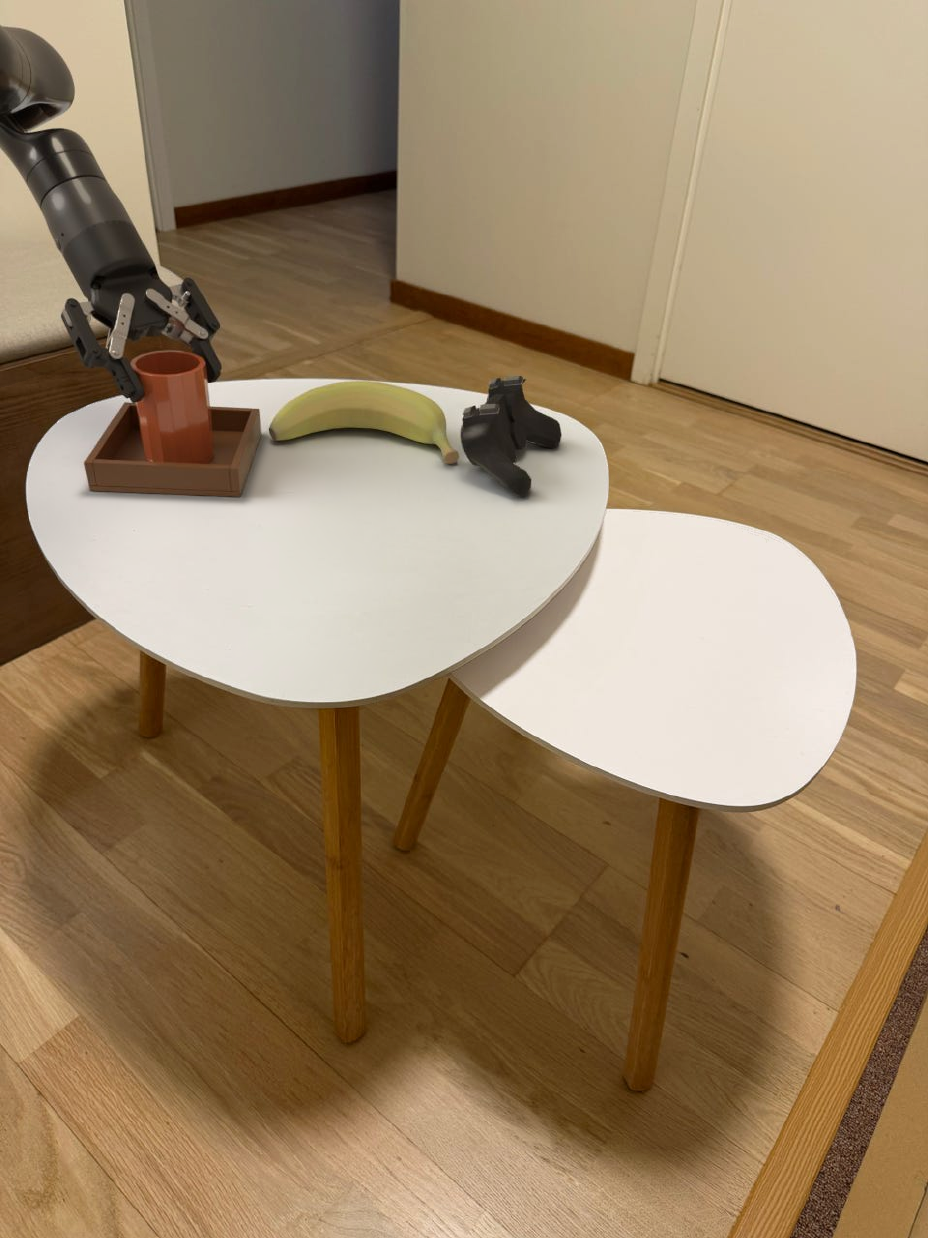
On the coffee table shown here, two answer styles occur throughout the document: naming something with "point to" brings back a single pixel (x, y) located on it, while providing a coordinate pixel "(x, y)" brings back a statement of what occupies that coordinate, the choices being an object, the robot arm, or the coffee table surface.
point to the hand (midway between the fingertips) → (178, 388)
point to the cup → (174, 407)
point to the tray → (127, 470)
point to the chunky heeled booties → (506, 433)
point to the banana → (365, 413)
